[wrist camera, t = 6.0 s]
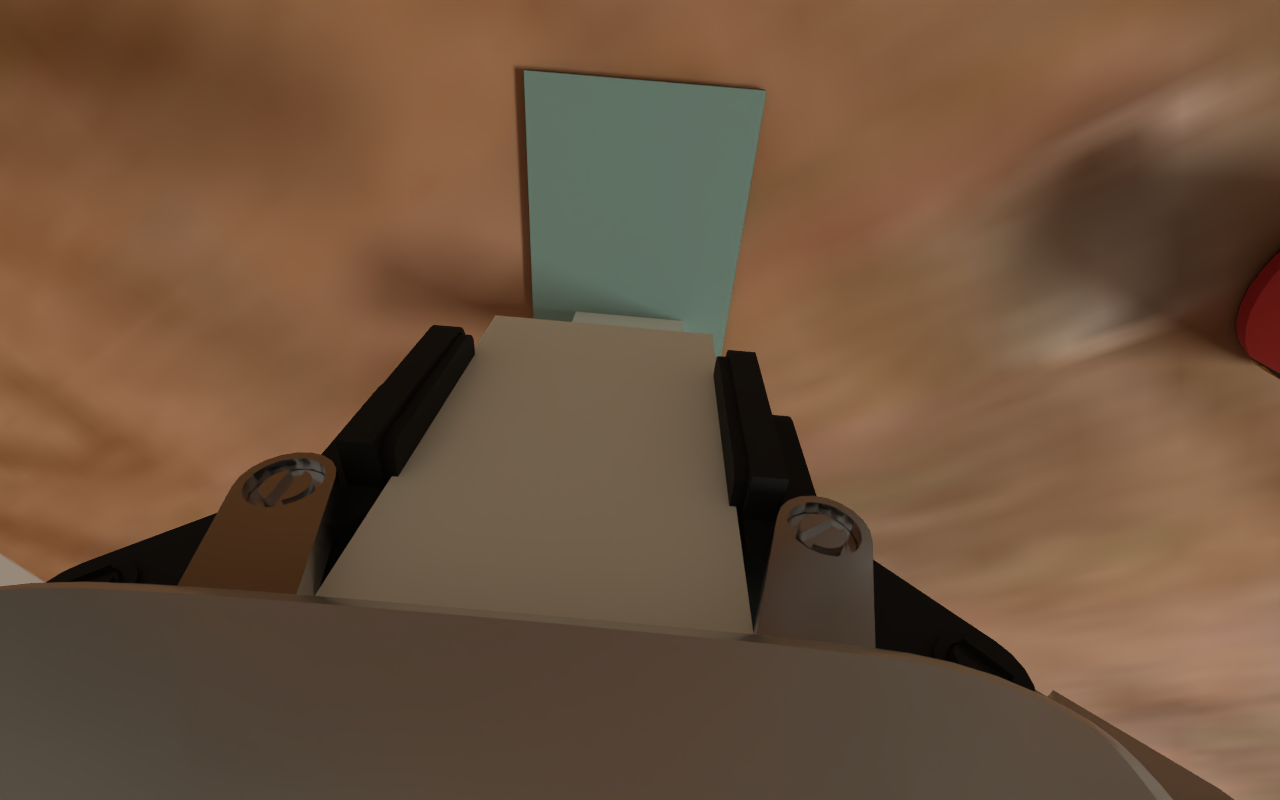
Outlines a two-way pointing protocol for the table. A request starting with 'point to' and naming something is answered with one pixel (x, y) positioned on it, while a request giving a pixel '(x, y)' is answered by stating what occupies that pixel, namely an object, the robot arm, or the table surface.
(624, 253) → the plate
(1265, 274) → the canned food
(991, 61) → the table surface
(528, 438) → the domino
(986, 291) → the table surface
